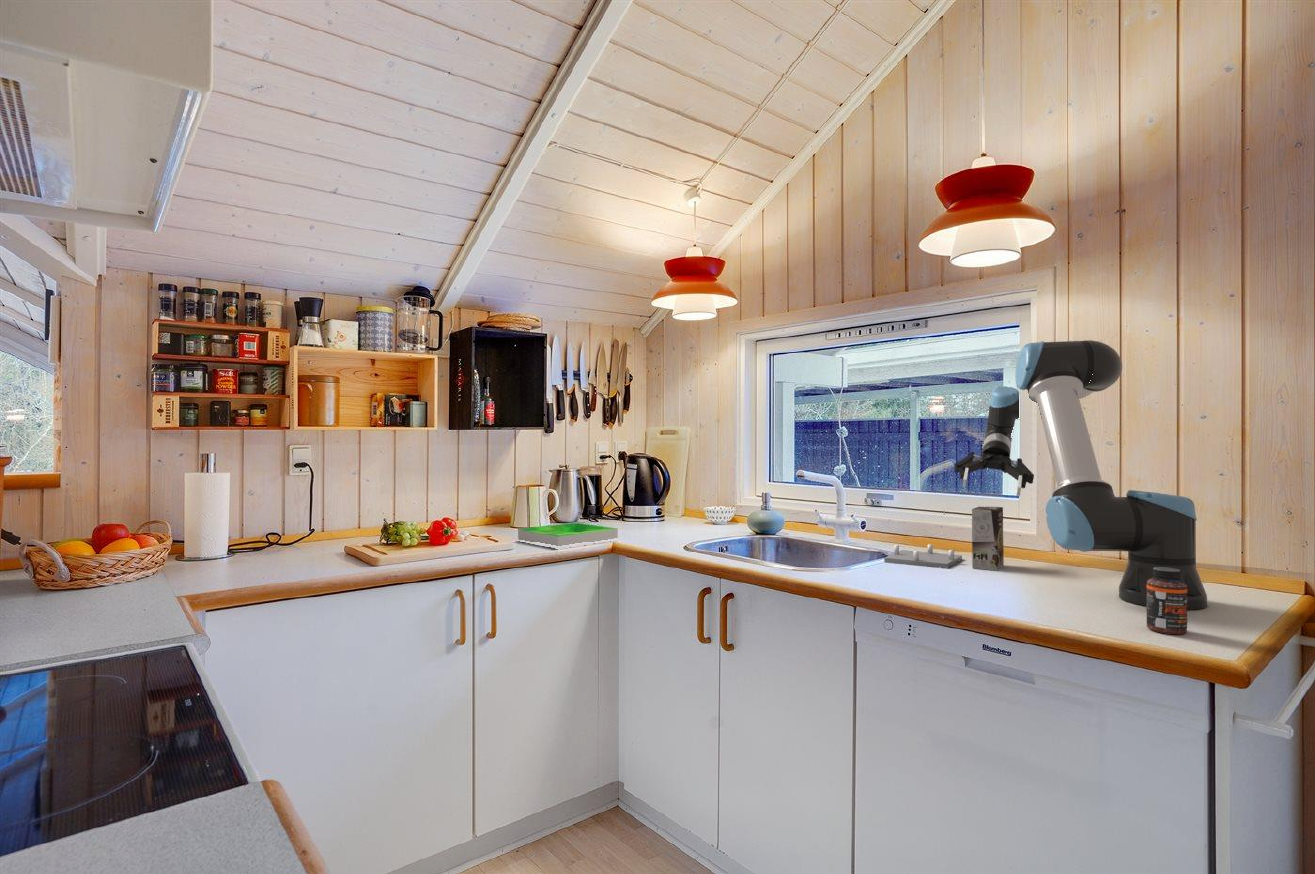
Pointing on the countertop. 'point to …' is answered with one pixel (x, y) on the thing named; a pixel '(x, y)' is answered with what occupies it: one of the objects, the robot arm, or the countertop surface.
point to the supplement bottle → (1167, 602)
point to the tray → (567, 533)
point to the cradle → (923, 557)
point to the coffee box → (987, 538)
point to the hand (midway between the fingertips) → (991, 487)
